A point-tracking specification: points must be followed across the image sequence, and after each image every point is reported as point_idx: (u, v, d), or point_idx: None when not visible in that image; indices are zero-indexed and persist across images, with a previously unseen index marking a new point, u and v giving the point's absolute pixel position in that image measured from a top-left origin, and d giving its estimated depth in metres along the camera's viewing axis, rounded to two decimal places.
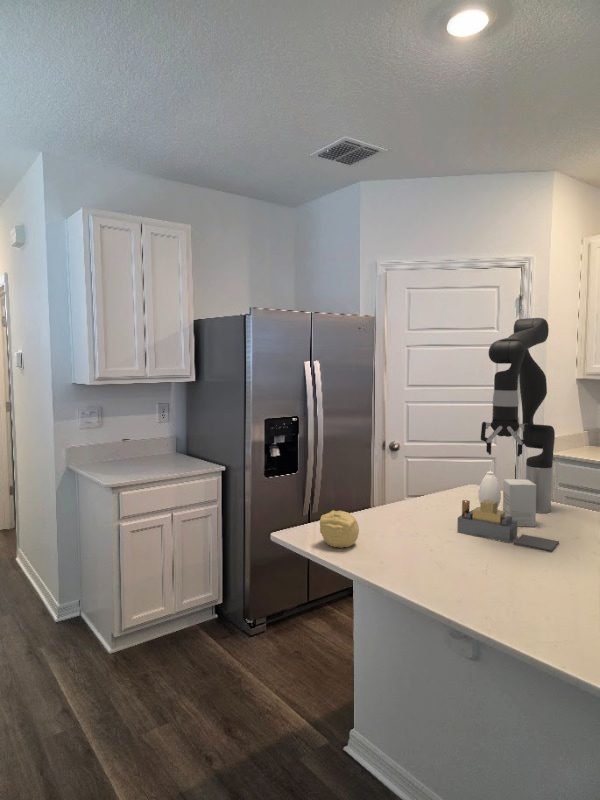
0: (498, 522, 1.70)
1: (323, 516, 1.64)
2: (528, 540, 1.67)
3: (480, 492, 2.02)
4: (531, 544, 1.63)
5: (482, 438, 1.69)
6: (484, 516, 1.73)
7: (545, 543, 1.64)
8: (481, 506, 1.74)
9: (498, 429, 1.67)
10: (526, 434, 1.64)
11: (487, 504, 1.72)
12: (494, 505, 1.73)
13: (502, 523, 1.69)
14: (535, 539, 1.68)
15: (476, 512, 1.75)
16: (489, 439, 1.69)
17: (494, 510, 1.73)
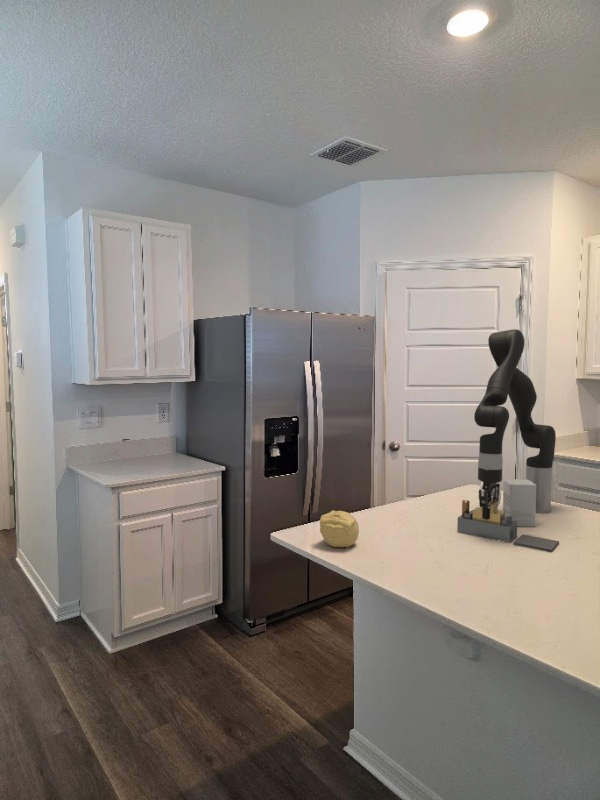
0: (498, 522, 1.70)
1: (323, 516, 1.64)
2: (528, 540, 1.67)
3: None
4: (531, 544, 1.63)
5: (487, 505, 1.70)
6: None
7: (545, 543, 1.64)
8: None
9: (493, 492, 1.72)
10: (498, 493, 1.78)
11: None
12: (494, 505, 1.73)
13: (502, 523, 1.69)
14: (535, 539, 1.68)
15: (476, 512, 1.75)
16: (489, 504, 1.71)
17: (494, 510, 1.73)
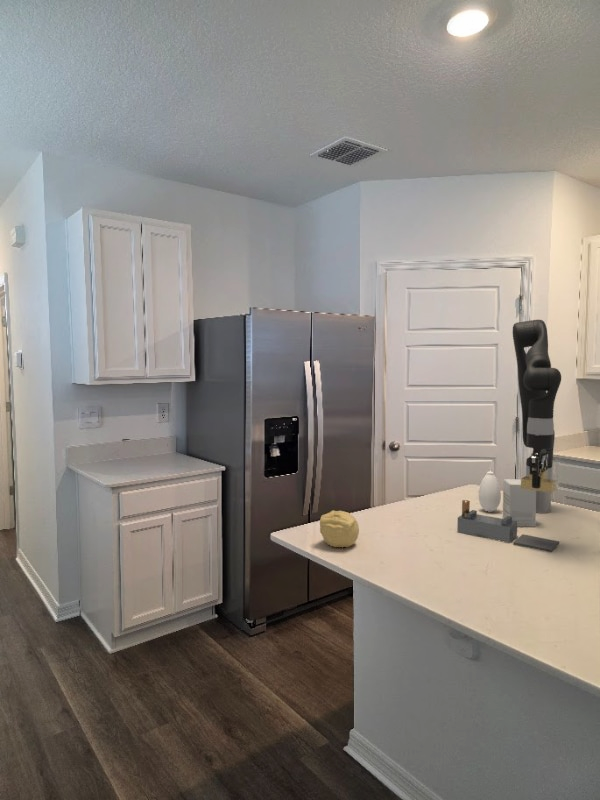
0: (549, 491, 1.60)
1: (323, 516, 1.64)
2: (528, 540, 1.67)
3: (480, 492, 2.02)
4: (531, 544, 1.63)
5: (538, 473, 1.60)
6: None
7: (545, 543, 1.64)
8: None
9: (544, 459, 1.62)
10: (547, 461, 1.68)
11: None
12: (544, 473, 1.63)
13: (502, 523, 1.69)
14: (535, 539, 1.68)
15: (525, 481, 1.65)
16: (540, 472, 1.61)
17: (544, 478, 1.63)
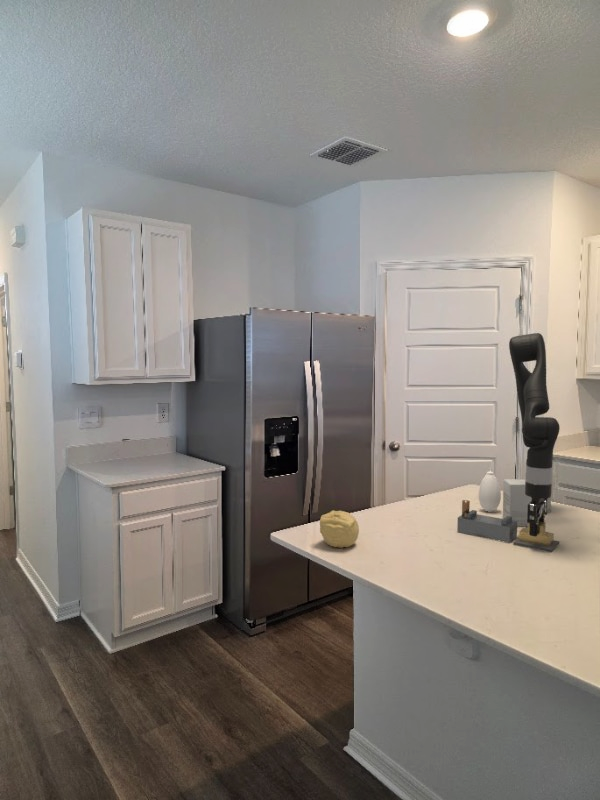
0: (548, 545, 1.62)
1: (323, 516, 1.64)
2: None
3: (480, 492, 2.02)
4: (531, 544, 1.63)
5: (536, 521, 1.60)
6: (531, 537, 1.64)
7: None
8: (529, 527, 1.65)
9: (542, 508, 1.63)
10: (546, 506, 1.69)
11: None
12: (543, 526, 1.64)
13: (502, 523, 1.69)
14: None
15: (523, 533, 1.66)
16: (538, 520, 1.61)
17: (543, 532, 1.64)
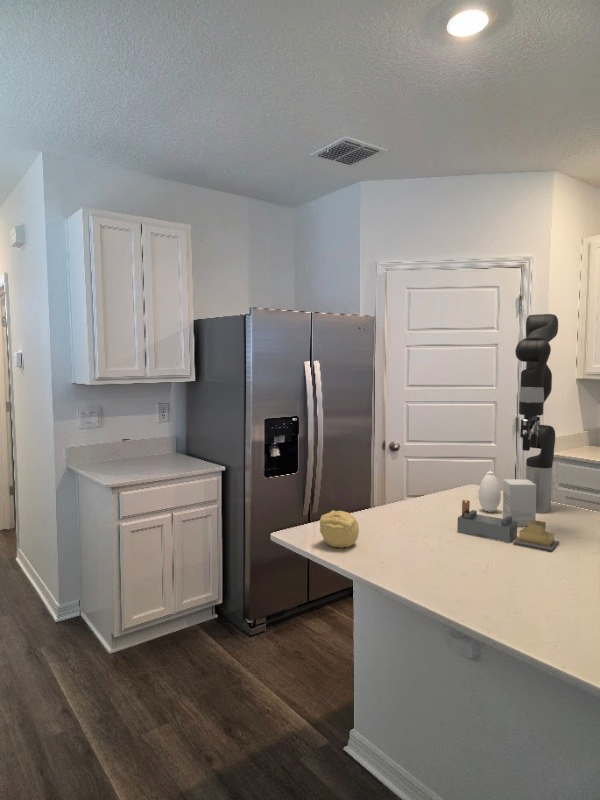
0: (548, 545, 1.62)
1: (323, 516, 1.64)
2: None
3: (480, 492, 2.02)
4: (531, 544, 1.63)
5: (528, 435, 1.71)
6: (531, 537, 1.64)
7: None
8: (529, 527, 1.65)
9: (535, 424, 1.74)
10: (539, 426, 1.81)
11: (535, 525, 1.63)
12: (543, 526, 1.64)
13: (502, 523, 1.69)
14: None
15: (523, 533, 1.66)
16: (530, 435, 1.73)
17: (543, 532, 1.64)
